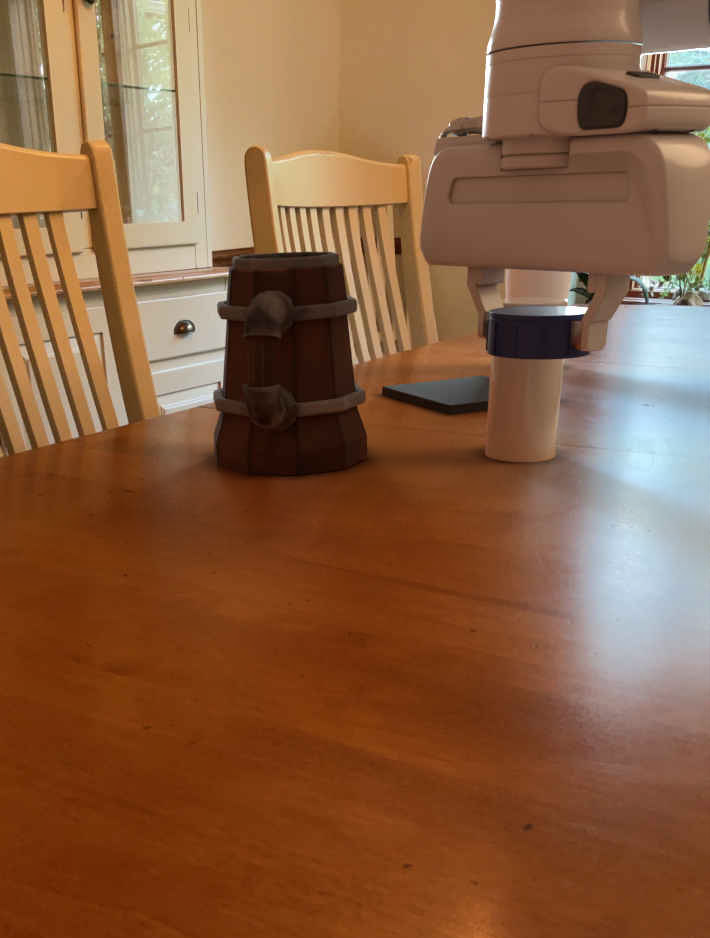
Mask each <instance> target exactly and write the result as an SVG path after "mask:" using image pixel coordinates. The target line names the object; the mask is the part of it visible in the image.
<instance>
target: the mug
mask: <svg viewBox="0 0 710 938" xmlns="http://www.w3.org/2000/svg"><path fill="white" fill-rule="evenodd" d="M216 311H217V314H218V316H219V318H220V320H226V323H225V324H226V325H225V342H224V346H225V347H224V357H223V358H224V359H223V375H222V376H223V377H222V387H221V388H218V389H214V391H213V393H212V395H213V397H212V398H213V403H214V406H215V407H214V408H215V410H216V412H219V415H218V417H217V421H216V425H215V428H214V431H213V446H214V447H213V448H214V449H213V451H214V458H215V463H216V467H218V468H222V469H226V470H229V471H234V472H238V473H242V474H246V475H252V476H288V477H289V476H294V477H301V476H306V475H307V476H308V475H315V474H322V473H330V472H335V471H341V470H342V471H343V470H345V469H347V468H349V467H351V466H354V465H355V464H357V463H359V462H361V461H363V460H365V459H367V458H368V433H367V431H366V428H365V425H364V423H363V420H362V417H361V414H360V411H359V408H358V406H360V405H362V404H365V402H366V400H367V398H366V391H365V389H363V388H362V387H361V386H360V385H359V384H358V383H357V382H356V381H355V372H354V364H353V355H352V354H353V353H352V346H351V335H350V327H349V326H350V325H349V317H348V315H349V314H354V313H357V311H358V300H357V299H356V298H355V297H353V296H350V295H349V294H347V288H346V279H345V271H344V265H343V263H342V262H340V255H339V254H338V253H336V252H335V251H287V252H286V251H285V252H283V251H282V252H269V253H268V252H266V253H254V254H245V255H244V254H243V255H237V256H233V257H232V259H231V265H230V266H229V267H228V277H227V290H226V300H221V301H217V304H216Z"/></svg>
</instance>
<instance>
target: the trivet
mask: <svg viewBox="0 0 710 938" xmlns="http://www.w3.org/2000/svg"><path fill="white" fill-rule="evenodd" d="M489 380H490V376H486V375H473V376H465V377H456V378H447V379H439V380H430V381H429V380H428V381H419V382H410V383H401V384H393V385H383V386H381V396H384V397H387V398H391V399H394V400H397V401H401V402H404V403H408V404H410V405H414V406H418V407H421V408H425V409H429V410H432V411H435V412H439V413H442V414H445V415H449V416H451V415H452V416H454V415H460V414H469V413H470V414H471V413H477V412H485V411H486V412H487V411H488V396H489Z"/></svg>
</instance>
